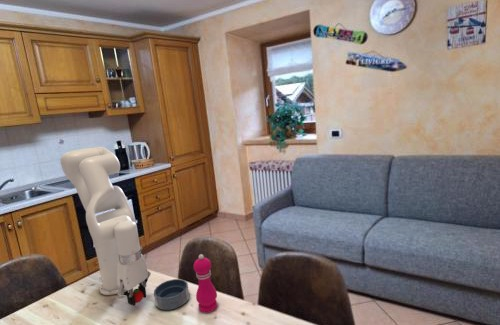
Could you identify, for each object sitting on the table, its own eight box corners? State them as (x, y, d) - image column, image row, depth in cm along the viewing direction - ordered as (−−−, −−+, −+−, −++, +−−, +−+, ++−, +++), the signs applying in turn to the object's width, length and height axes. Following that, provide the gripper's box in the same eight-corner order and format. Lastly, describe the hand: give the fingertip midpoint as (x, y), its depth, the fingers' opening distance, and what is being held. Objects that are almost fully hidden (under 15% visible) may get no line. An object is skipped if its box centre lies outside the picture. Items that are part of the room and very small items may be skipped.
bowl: (148, 306, 115) (146, 293, 114) (172, 288, 125) (170, 276, 124) (173, 314, 109) (171, 301, 108) (196, 294, 119) (194, 282, 118)
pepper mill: (214, 314, 107) (207, 259, 103) (194, 313, 108) (186, 259, 104) (220, 300, 114) (214, 249, 110) (202, 300, 115) (194, 249, 111)
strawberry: (129, 303, 116) (127, 291, 115) (138, 296, 119) (136, 285, 118) (137, 306, 114) (135, 295, 113) (146, 299, 117) (144, 288, 116)
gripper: (141, 243, 122) (148, 285, 125) (102, 265, 107) (111, 311, 111) (155, 247, 118) (161, 290, 122) (116, 269, 104) (125, 317, 108)
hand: (137, 300), depth 116 cm, fingers closed on strawberry, 4 cm apart
